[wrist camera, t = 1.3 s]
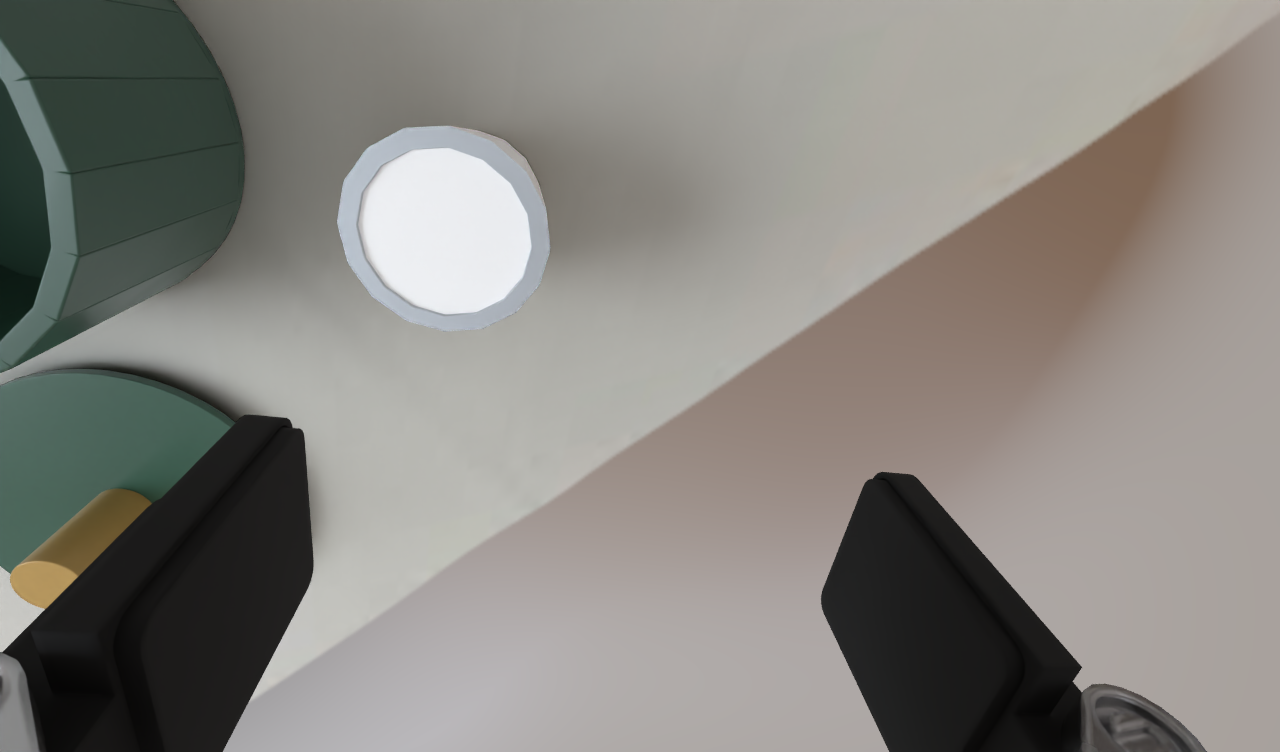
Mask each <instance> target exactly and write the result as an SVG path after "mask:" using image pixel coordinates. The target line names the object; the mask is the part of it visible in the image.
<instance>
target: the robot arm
mask: <svg viewBox="0 0 1280 752" xmlns="http://www.w3.org/2000/svg"><path fill="white" fill-rule="evenodd" d="M312 574H313V548H312V534H311V521H310V507H309V494H308V480H307V466H306V453H305V439H304V433H303V431H302V430H301V429H297V428H293V427H292V424H291V422H290V420H289V419H287V418H281V417H270V416H258V415H244V416H243V417H241V418H240V419H239V420H238V421H237V422H236V423H235V424H234V425H233V426H232V427H231V428H230V429H229V430H228V431H227V432H226V433H225V434H224V435H223V436H222V437H221V438H220V439H219V440H218V441H217V442H216V443H215V444H214V445H213V446H212V447H211V448H210V449H209V450H208V451H207V452H206V453H205V454H204V455H203V456H202V457H201V458H200V459H199V460H198V461H197V462H196V463H195V464H194V465H193V466H192V467H191V468H190V469H189V470H188V471H187V472H186V474H185V475H184V476H183V477H182V478H181V479H180V480H179V481H178V482H177V483H176V484H175V485H174V486H173V487H172V488H171V489H170V490H169V491H168V492H167V493H166V494H165V495H164V496H163V497H162V498H161V499H158V500H156V501H155V502H154V503H152V504H151V505H150V506H148V507H147V508H146V509H145V510H144V511H143V512H142V513H141V514H140V515H139V516H138V517H137V518H136V519H135V520H134V521H133V522H132V523H131V524H130V525H129V526H128V527H127V528H126V529H125V530H124V531H123V532H122V533H121V534H120V535H119V536H118V537H117V538H116V539H115V540H114V541H113V542H112V543H111V544H110V545H109V546H108V547H107V548H106V549H105V550H104V551H103V552H102V553H101V554H100V555H99V556H98V557H97V558H96V559H95V560H94V561H93V562H92V563H91V564H90V565H89V566H88V567H87V568H86V569H85V570H84V571H83V572H82V573H81V574H80V575H79V576H78V577H77V578H76V579H75V580H74V581H73V582H72V583H71V584H70V585H69V586H68V587H67V588H66V589H65V590H64V591H63V592H62V593H61V594H60V595H59V596H58V597H57V598H56V599H55V600H54V601H53V602H52V603H51V604H50V605H49V606H48V607H47V608H46V609H45V610H44V611H43V612H42V613H41V614H40V615H39V616H38V617H37V618H36V619H35V620H34V621H33V622H32V623H31V624H30V625H29V626H28V627H27V628H26V629H25V630H24V631H23V632H22V633H21V634H20V635H19V636H18V637H17V638H16V639H15V640H14V641H13V642H12V643H11V644H10V645H9V646H8V647H7V648H6V649H5V650H4V651H3V652H0V752H223V750H224V748H225V746H226V744H227V742H228V740H229V738H230V737H231V735H232V733H233V731H234V729H235V727H236V725H237V723H238V721H239V719H240V717H241V715H242V714H243V712H244V710H245V708H246V706H247V704H248V702H249V700H250V698H251V696H252V694H253V692H254V691H255V689H256V687H257V685H258V683H259V681H260V679H261V677H262V675H263V673H264V671H265V669H266V668H267V666H268V664H269V662H270V660H271V658H272V656H273V654H274V652H275V650H276V648H277V646H278V645H279V643H280V641H281V639H282V637H283V635H284V633H285V631H286V629H287V627H288V625H289V623H290V622H291V620H292V618H293V616H294V614H295V612H296V610H297V608H298V606H299V604H300V602H301V601H302V599H303V597H304V595H305V593H306V591H307V589H308V587H309V584H310V581H311V578H312ZM821 604H822V610H823V612H824V615H825V617H826V619H827V621H828V623H829V625H830V628H831V630H832V631H833V634H834V636H835V638H836V640H837V642H838V644H839V646H840V649H841V651H842V653H843V655H844V657H845V659H846V661H847V663H848V666H849V668H850V670H851V672H852V674H853V676H854V678H855V680H856V682H857V685H858V686H859V689H860V691H861V693H862V695H863V697H864V699H865V701H866V703H867V706H868V708H869V710H870V712H871V714H872V716H873V718H874V720H875V722H876V725H877V727H878V729H879V731H880V733H881V735H882V737H883V739H884V741H885V744H886V746H887V748H888V750H889V752H1207V751H1206V750H1205V749H1204V747H1203V746H1202V745H1201V743H1200V742H1199V741H1198V739H1197V738H1196V737H1195V736H1194V735H1193V734H1192V733H1191V732H1190V731H1189V730H1188V729H1187V728H1186V727H1185V726H1184V725H1182V723H1181V722H1179V721H1178V720H1177V719H1175V718H1174V717H1173V716H1172V715H1170V714H1169V713H1168V712H1166V711H1165V710H1164V709H1162V708H1161V707H1159V706H1158V705H1156V704H1154V703H1152V702H1151V701H1149V700H1148V699H1146V698H1144V697H1142V696H1141V695H1138V694H1136V693H1134V692H1131V691H1129V690H1127V689H1124V688H1121V687H1117V686H1113V685H1108V684H1094V685H1091V686H1089V687H1088V688H1087V689H1085V690H1084V691H1083V692H1081V691H1080V690H1079V689H1078V688H1077V687H1076V685H1075V684H1074V683H1073V682H1072V681H1073V680H1074V678H1075V677H1076V675H1077V674H1078V673H1079V671H1080V670H1081V668H1082V667H1081V666H1080V664H1079V663H1078V662H1077V661H1076V660H1075V659H1074V658H1073V656H1072V655H1071V654H1070V653H1069V652H1068V651H1067V649H1066V648H1065V647H1064V646H1063V645H1062V644H1061V643H1060V642H1059V640H1058V639H1057V638H1056V637H1055V636H1054V635H1053V633H1052V632H1051V631H1050V630H1049V629H1048V628H1047V627H1046V626H1045V624H1044V623H1043V622H1042V621H1041V620H1040V619H1039V617H1037V615H1036V614H1035V613H1034V612H1033V611H1032V609H1031V608H1030V607H1029V606H1028V605H1027V604H1026V603H1025V601H1024V600H1023V599H1022V598H1021V597H1020V596H1019V594H1018V593H1017V592H1016V591H1015V590H1014V589H1013V588H1012V587H1011V585H1010V584H1009V583H1008V582H1007V581H1006V580H1005V578H1004V577H1003V576H1002V575H1001V574H1000V573H999V572H998V570H997V569H996V568H995V567H994V566H993V565H992V563H991V562H990V561H989V560H988V559H987V558H986V557H985V555H984V554H982V552H981V551H980V550H979V549H978V547H977V546H976V545H975V544H974V543H973V542H972V540H971V539H970V538H969V537H968V536H967V535H966V534H965V533H964V531H963V530H962V529H961V528H960V527H959V526H958V525H957V523H956V522H955V521H954V520H953V519H952V518H951V516H950V515H949V514H948V513H947V512H946V511H945V510H944V508H943V507H942V506H941V505H940V504H939V503H938V501H937V500H936V499H935V498H934V497H933V496H932V495H931V493H930V492H929V491H928V490H927V489H926V488H925V487H924V485H923V484H922V483H921V482H920V481H919V480H918V479H917V478H916V477H915V476H913V475H910V474H899V473H889V472H888V473H887V472H881V473H878V474H877V475H875V476H874V478H873V479H870V480H868V481H867V482H866V483H865V484H864V486H863V489H862V491H861V494H860V496H859V499H858V501H857V504H856V506H855V509H854V511H853V514H852V517H851V519H850V522H849V524H848V527H847V530H846V532H845V534H844V537H843V539H842V542H841V545H840V547H839V550H838V552H837V555H836V557H835V560H834V562H833V565H832V567H831V570H830V573H829V575H828V578H827V580H826V583H825V585H824V588H823V591H822V595H821Z"/></svg>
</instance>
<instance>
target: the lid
mask: <svg viewBox="0 0 1280 752" xmlns="http://www.w3.org/2000/svg"><path fill="white" fill-rule="evenodd" d="M235 423H236V422H234V421H233V420H232V419H230V418H229V417H228V416H226V415H225V414H224V413H222V412H220V411H219V410H217V409H215V408H214V407H212V406H211V405H209V404H207V403H206V402H204V401H202V400H200V399H198V398H196V397H194V396H192V395H190V394H188V393H186V392H184V391H182V390H179V389H176V388H174V387H171V386H168V385H166V384H163V383H161V382H158V381H154V380H151V379H147V378H143V377H140V376H136V375H132V374H126V373H120V372H115V371H109V370H95V369H59V370H52V371H46V372H39V373H34V374H31V375H27V376H24V377H20V378H17V379H14V380H12V381H10V382H7V383H5V384H3V385H1V386H0V566H1V567H2V568H3V569H5V570H6V571H7V572H9V573H10V574H11V576H10V583H11V586H12V588H13V589H14V591H15V592H16V593H17V594H18V595H19V596H20V597H21V598H22V599H24V600H25V601H27V602H28V603H30V604H32V605H35V606H37V607H40V608H44V609H46V608H47V607H48V606H49V605H50V604H51V603H52V602H53V601H54V600H55V599H56V598H57V597H58V596H59V595H60V594H61V593H62V592H63V591H64V590H65V589H66V588H67V587H68V586H69V585H70V584H71V583H72V582H73V581H74V580H75V579H76V578H77V577H78V576H79V575H80V574H81V573H82V572H83V571H84V570H85V569H86V568H87V567H88V566H89V565H90V564H91V563H92V562H93V561H94V560H95V559H96V558H97V557H98V556H99V555H100V554H101V553H102V552H103V551H104V550H105V549H106V548H107V547H108V546H109V545H110V544H111V543H112V542H113V541H114V540H115V539H116V538H117V537H118V536H119V535H120V534H121V533H122V532H123V531H124V530H125V529H126V528H127V527H128V526H129V525H130V524H131V523H132V522H133V521H134V520H135V519H136V518H137V517H138V516H139V515H140V514H141V513H142V512H143V511H144V510H145V509H146V508H147V507H148V506H150V505H151V504H152V503H154V502H155V501H156V500H158V499H161V498H162V497H163V496H164V495H165V494H166V493H167V492H168V491H169V490H170V489H171V488H172V487H173V486H174V485H175V484H176V483H177V482H178V481H179V480H180V479H181V478H182V477H183V476H184V475H185V474H186V472H187V471H188V470H189V469H190V468H191V467H192V466H193V465H194V464H195V463H196V462H197V461H198V460H199V459H200V458H201V457H202V456H203V455H204V454H205V453H206V452H207V451H208V450H209V449H210V448H211V447H212V446H213V445H214V444H215V443H216V442H217V441H218V440H219V439H220V438H221V437H222V436H223V435H224V434H225V433H226V432H227V431H228V430H229V429H230V428H231V427H232V426H233V425H234V424H235Z"/></svg>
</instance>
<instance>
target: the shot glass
mask: <svg viewBox="0 0 1280 752" xmlns="http://www.w3.org/2000/svg"><path fill="white" fill-rule="evenodd" d="M337 224H338V228H339V232H340V236H341V239H342V243H343V247H344V251H345V255H346V259H347V262H348V264H349V265H350V267H351V268H352V269H353V271H354V272H355V274H356V275H357V276H358V278H359V279H360V281H361V282H362V283H363V285H364V286H365V288H366V289H367V290H368V292H369V293H370V295H371V296H372V297H373V298H375V299H376V300H377V301H379V302H380V303H382V304H383V305H385V306H386V307H387V308H389V309H390V310H392V311H393V312H395V313H396V314H397V315H399V316H400V317H402V318H403V319H405V320H406V321H409V322H413V323H416V324H420V325H423V326H427V327H430V328H434V329H438V330H441V331H459V330H472V329H483V328H485V327H487V326H489V325H491V324H494V323H496V322H498V321H500V320H502V319H504V318H506V317H508V316H510V315H512V314H514V313H516V312H517V311H518V310H519V308H520V307H521V306H522V305H523V304H524V303H525V301H526V300H527V299H528V298H529V297H530V296H531V295H532V293H533V292H534V291H535V290H536V289H537V288H538V286H539V285H540V282H541V279H542V276H543V272H544V269H545V266H546V263H547V259H548V256H549V253H550V239H549V230H548V221H547V211H546V207H545V203H544V200H543V196H542V193H541V189H540V186H539V183H538V181H537V179H536V177H535V175H534V173H533V171H532V169H531V167H530V165H529V163H528V162H527V160H526V158H525V157H524V156H522V155H521V154H520V153H519V152H518V151H517V150H516V149H514V148H513V147H512V146H511V145H510V144H509V143H508V142H507V141H505V140H503V139H501V138H498V137H495V136H492V135H490V134H487V133H484V132H481V131H479V130H473V129H467V128H460V127H454V126H430V127H410V128H403V129H401V130H399V131H397V132H396V133H394V134H392V135H390V136H388V137H386V138H384V139H382V140H381V141H379V142H377V143H375V144H373V145H371V146H369V147H367V148H366V150H365V151H364V153H363V154H362V156H361V157H360V158H359V160H358V161H357V163H356V164H355V166H354V167H353V168H352V170H351V171H350V173H349V174H348V175H347V177H346V178H345V180H344V181H343V187H342V193H341V200H340V206H339V212H338V219H337Z"/></svg>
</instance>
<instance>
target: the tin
mask: <svg viewBox="0 0 1280 752" xmlns="http://www.w3.org/2000/svg"><path fill="white" fill-rule="evenodd" d="M243 184H244V149H243V141H242V134H241V129H240V125H239V121H238V117H237V113H236V110H235V106H234V103H233V100H232V98H231V95H230V93H229V90H228V88H227V85H226V82H225V80H224V78H223V76H222V74H221V72H220V70H219V68H218V66H217V64H216V62H215V60H214V58H213V56H212V54H211V53H210V51H209V49H208V48H207V46H206V45H205V43H204V42H203V40H202V39H201V37H200V36H199V34H198V33H197V31H196V29H195V28H194V26H193V25H192V24H191V23H190V21H189V20H188V19H187V18H186V16H185V15H184V14H183V13H182V11H181V10H180V9H179V8H178V6H177V5H176V4H175V3H174V1H173V0H0V373H2V372H4V371H7V370H9V369H12V368H14V367H16V366H18V365H20V364H21V363H23V362H25V361H27V360H29V359H31V358H33V357H35V356H37V355H39V354H41V353H43V352H45V351H47V350H49V349H51V348H53V347H54V346H56V345H58V344H60V343H62V342H64V341H66V340H68V339H70V338H72V337H74V336H76V335H78V334H80V333H82V332H84V331H86V330H87V329H89V328H91V327H93V326H95V325H97V324H99V323H101V322H103V321H105V320H107V319H109V318H111V317H113V316H115V315H117V314H119V313H121V312H122V311H124V310H126V309H128V308H130V307H132V306H134V305H136V304H138V303H140V302H142V301H144V300H146V299H148V298H150V297H152V296H154V295H155V294H157V293H159V292H161V291H163V290H165V289H167V288H169V287H171V286H173V285H175V284H177V283H179V282H181V281H183V280H184V279H186V278H187V277H188V276H189V275H190V274H191V273H192V272H194V271H195V270H197V269H198V268H200V267H201V266H202V265H203V264H204V263H205V262H206V261H207V260H208V259H209V258H210V257H211V256H212V255H213V254H214V253H215V252H216V251H217V249H218V248H219V247H220V245H221V244H222V243H223V241H224V240H225V239H226V237H227V235H228V233H229V231H230V229H231V227H232V225H233V223H234V221H235V218H236V215H237V212H238V209H239V206H240V203H241V198H242V191H243Z"/></svg>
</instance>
